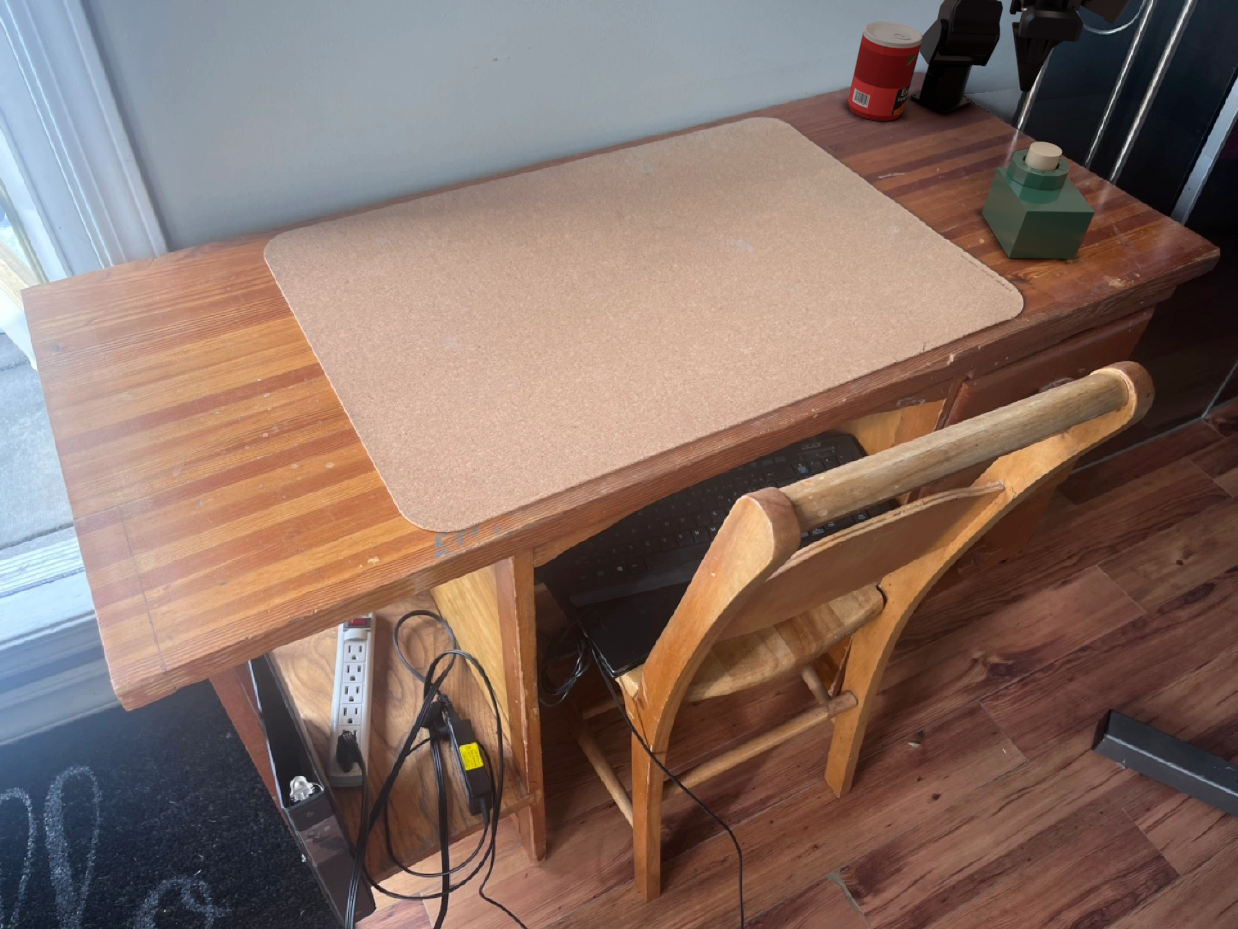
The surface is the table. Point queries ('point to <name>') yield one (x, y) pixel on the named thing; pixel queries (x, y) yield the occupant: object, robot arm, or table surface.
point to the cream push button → (1043, 156)
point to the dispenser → (1037, 211)
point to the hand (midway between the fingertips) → (1024, 90)
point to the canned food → (884, 70)
